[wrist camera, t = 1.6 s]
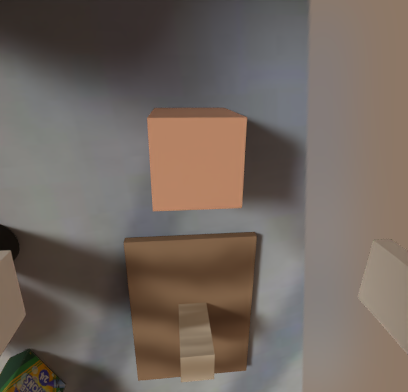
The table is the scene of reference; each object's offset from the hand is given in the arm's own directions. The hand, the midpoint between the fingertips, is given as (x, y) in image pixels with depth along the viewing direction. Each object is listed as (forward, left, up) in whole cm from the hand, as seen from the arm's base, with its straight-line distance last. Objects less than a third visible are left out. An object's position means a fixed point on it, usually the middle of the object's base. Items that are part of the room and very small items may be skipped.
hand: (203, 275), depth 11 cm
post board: (+19, +1, -19) cm, 26 cm away
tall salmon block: (-1, +1, -19) cm, 19 cm away
